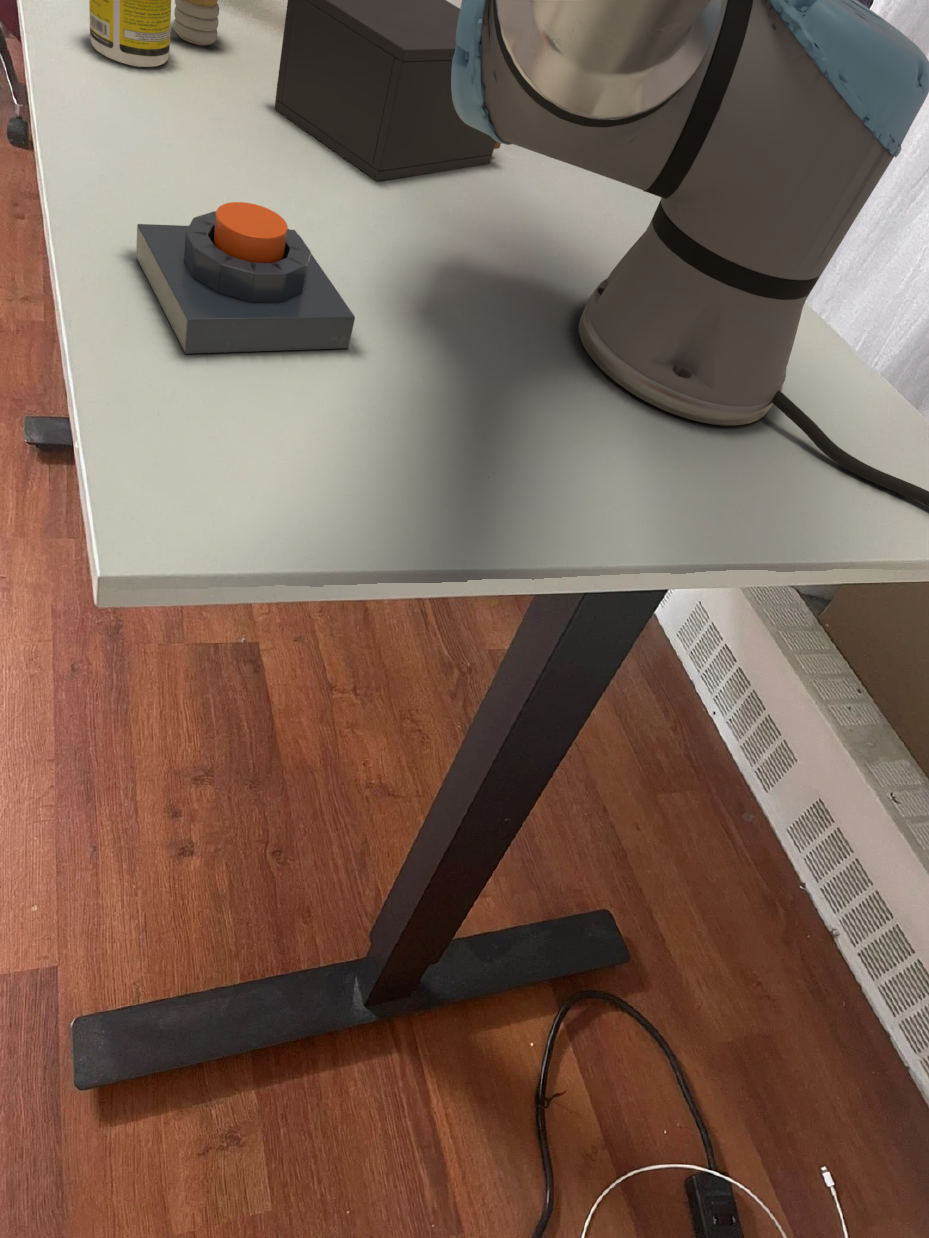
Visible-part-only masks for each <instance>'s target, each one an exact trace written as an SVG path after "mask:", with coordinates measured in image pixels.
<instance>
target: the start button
mask: <svg viewBox="0 0 929 1238" xmlns="http://www.w3.org/2000/svg"><path fill="white" fill-rule="evenodd" d="M288 229H289V228H288V223H287V222H286V219H284V218H283V217H282V216H281V215H280V214H278V213H277V212H275V211H274V210H272V209H270V208H267V207H265V206H262V205H259V204H256V203H250V202H245V201H244V202H243V201H231V202H227V203H223V204H221V205H220V206H219V207H218V208H217V209H216V218H215V230H214V245H215V247H216V248H218V249H219V250H221V251H223V252H224V253H226V254H228V255H229V256H231V257H234V258H238V259H241V260H245V261H248V262H252V263H275V262H277V261H280V260H282V259H283V256H284V250H285V243H286V236H287V230H288Z"/></svg>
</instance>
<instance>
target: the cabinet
mask: <svg viewBox="0 0 929 1238" xmlns="http://www.w3.org/2000/svg"><path fill="white" fill-rule="evenodd" d="M459 12H460V8H459V7H458V6H456V5H455V4H453V3H452V2H449V1H448V0H287V3H286V12H285V19H284V20H285V21H284V29H283V35H282V44H281V52H280V59H279V67H278V76H277V85H276V92H275V100H274V101H275V102H274V110H275V111H277V112H278V113H280V114H281V115H283V116H284V117H285V118H287V119H288V120H290V121H291V122H292V123H294V124H296V125H297V126H298V127H300V128H301V129H302V130H304V131H305V132H307V133H308V134H310V135H311V136H312V137H314V138H315V139H316V140H318V141H320V142H321V143H322V144H324V145H325V146H326V147H328V148H329V149H331V150H332V151H334V152H335V153H336V154H338V155H339V156H341V157H342V158H343V159H345V160H346V161H348V162H349V163H350V164H352V165H353V166H355V167H356V168H358V169H359V170H360V171H362V172H363V173H365V174H366V175H368V177H370V178H371V179H373V180H375V182H380V181H386V180H387V181H388V180H393V179H399V178H406V177H412V176H418V175H423V174H424V175H425V174H431V173H438V172H443V171H450V170H455V169H456V170H457V169H463V168H469V167H476V166H481V165H489V164H491V160H492V157H493V154H494V150H495V149H494V147H495V144H496V141H495V140H494V139H493V138H492V137H491V136H489V135H487V134H485V133H483V132H481V131H479V130H477V129H475V128H473V127H471V126H469V125H467V124H466V123H464V122H463V121H462V120H461V118H460V117H459V116H458V114H457V112H456V110H455V108H454V104H453V100H452V92H451V70H452V60H453V56H454V54H455V48H456V30H457V23H458V17H459Z"/></svg>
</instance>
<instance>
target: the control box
mask: <svg viewBox="0 0 929 1238" xmlns="http://www.w3.org/2000/svg"><path fill="white" fill-rule="evenodd" d="M216 211H217V210H216ZM216 211H215V210H214V211H210V212H207V213H204V214H201V215H198V216H195V217H193V218H192V219H191V221H190V223H189V225H177V224H150V223H149V224H148V223H138V224H137V226H136V254H135V255H136V260H137V261H138V263H139V265H140V267H141V269H142V271H143V274H144V276H145V277H146V279H147V281H148V283H149V285H150V287H151V289H152V291H153V293H154V295H155V297H156V299H157V302H158V304H159V305H160V306H161V309H162V311H163V313H164V314H165V316H166V319H167V320H168V322H169V324H170V326H171V328H172V331H173V332H174V334H175V336H176V338H177V340H178V342H179V344H180V346H181V348H182V350H183V352H184V354H187V355H188V354H189V355H191V354H217V353H218V354H219V353H220V354H221V353H222V354H223V353H248V352H279V351H280V352H281V351H309V350H337V349H338V350H339V349H349V348H350V343H351V339H352V333H353V329H354V325H355V320H356V316H355V314H354V313H353V312H352V310H351V309H350V307H349V306H348V305H347V303H346V302H345V300H344V299H343V297H342V296H341V295H340V293H339V291H338V290H337V288H336V287H335V286H334V284H333V283H332V281H331V280H330V279H329V277H328V276H327V274H326V273H325V271H324V269H322V267H321V265H320V264H319V263H318V261H317V259H316V258H315V257H314V255H313V253H312V252H311V250H310V248H309V247H308V245H307V244H306V243H305V241H304V239H303V238H302V237H301V235H299V233H298V232H297V231H296V230H295V229H290V228H288V230H287V236H286V243H285V250H284V256H283V259H282V260H280V261H277V262H275V263H252V262H248V261H245V260H241V259H238V258H234V257H231V256H229V255H228V254H226V253H224V252H223V251H221V250H219V249H218V248H216V247H215V245H214V230H215V218H216Z"/></svg>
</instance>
